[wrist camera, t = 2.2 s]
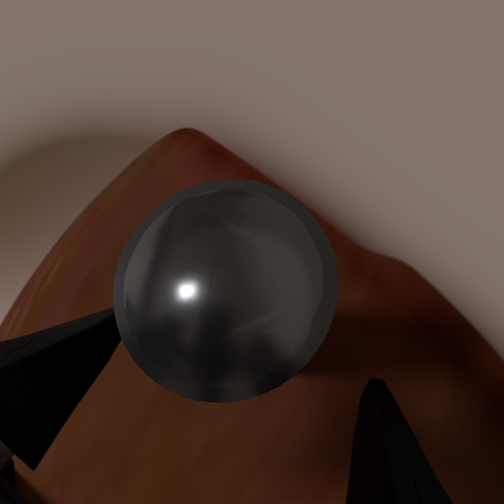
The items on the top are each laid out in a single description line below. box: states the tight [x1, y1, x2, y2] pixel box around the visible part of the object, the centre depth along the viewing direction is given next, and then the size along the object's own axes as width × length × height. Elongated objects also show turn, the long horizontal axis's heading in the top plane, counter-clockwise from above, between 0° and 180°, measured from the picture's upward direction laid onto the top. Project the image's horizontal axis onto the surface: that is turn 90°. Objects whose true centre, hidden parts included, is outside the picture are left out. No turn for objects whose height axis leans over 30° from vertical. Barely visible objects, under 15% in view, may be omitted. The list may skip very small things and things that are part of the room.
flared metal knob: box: [113, 179, 339, 402], centre depth 12 cm, size 5×5×13 cm
